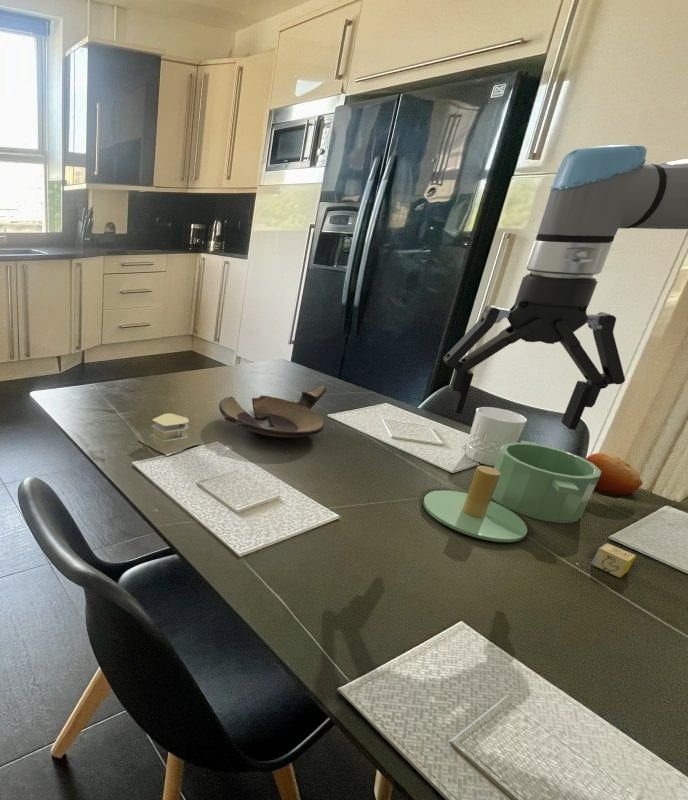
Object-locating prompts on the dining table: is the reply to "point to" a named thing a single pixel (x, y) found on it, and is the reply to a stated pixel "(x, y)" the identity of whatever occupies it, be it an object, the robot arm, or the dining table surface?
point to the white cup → (493, 433)
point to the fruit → (615, 475)
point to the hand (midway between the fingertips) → (510, 418)
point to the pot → (544, 482)
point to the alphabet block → (613, 560)
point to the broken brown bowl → (277, 415)
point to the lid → (477, 510)
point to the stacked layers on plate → (169, 429)
